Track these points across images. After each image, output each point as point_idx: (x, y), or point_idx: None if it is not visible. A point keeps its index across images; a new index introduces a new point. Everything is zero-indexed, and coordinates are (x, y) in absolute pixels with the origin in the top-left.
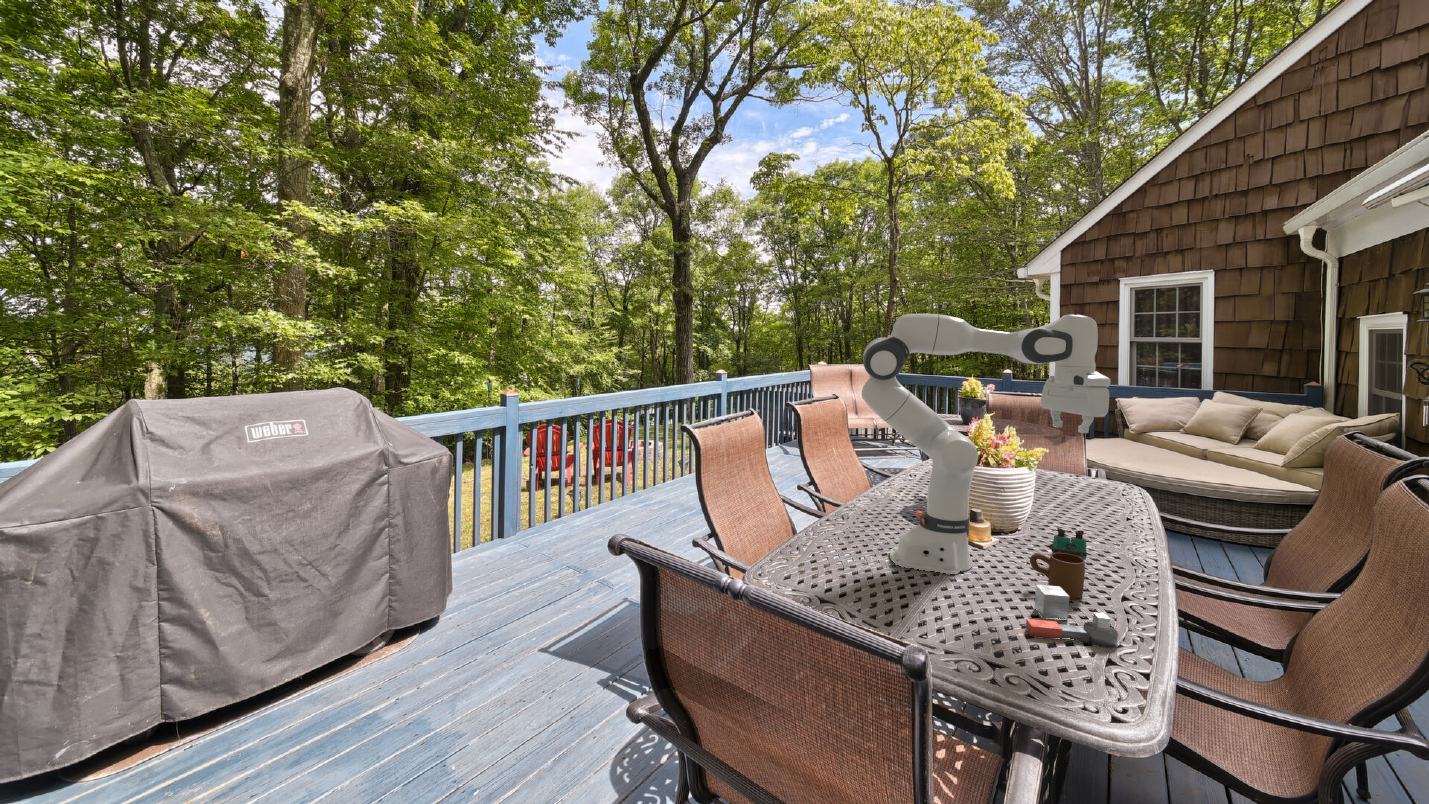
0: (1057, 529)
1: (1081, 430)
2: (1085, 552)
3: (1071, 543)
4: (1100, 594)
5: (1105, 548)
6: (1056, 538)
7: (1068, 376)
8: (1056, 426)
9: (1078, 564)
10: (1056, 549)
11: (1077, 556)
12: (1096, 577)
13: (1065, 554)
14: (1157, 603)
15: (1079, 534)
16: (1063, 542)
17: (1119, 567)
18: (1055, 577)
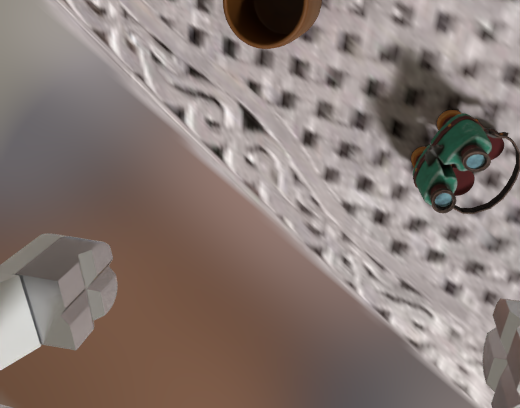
0: (483, 151)
1: (42, 242)
2: (416, 183)
3: (437, 160)
4: (273, 85)
5: None
6: (470, 133)
7: None
8: (505, 301)
9: (223, 4)
10: (458, 121)
11: (272, 44)
12: (357, 150)
13: (298, 24)
14: (228, 167)
15: (434, 191)
16: (450, 143)
17: (398, 246)
18: None
